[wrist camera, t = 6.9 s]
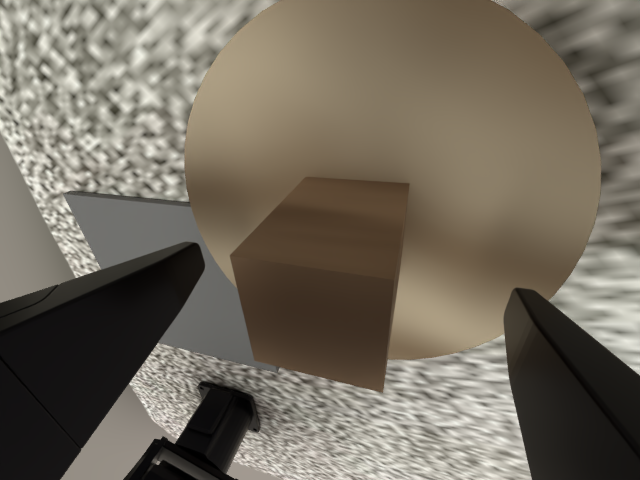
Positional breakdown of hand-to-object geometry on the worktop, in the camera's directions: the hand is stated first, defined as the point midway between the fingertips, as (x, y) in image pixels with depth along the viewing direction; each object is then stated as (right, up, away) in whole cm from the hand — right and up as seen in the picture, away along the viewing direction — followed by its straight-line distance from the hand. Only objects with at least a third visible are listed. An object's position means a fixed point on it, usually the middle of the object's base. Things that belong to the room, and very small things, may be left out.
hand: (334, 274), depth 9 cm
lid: (+1, +2, +3) cm, 4 cm away
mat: (-12, -3, +17) cm, 21 cm away
